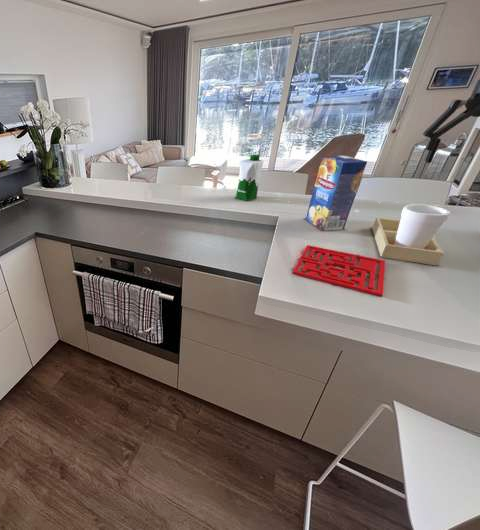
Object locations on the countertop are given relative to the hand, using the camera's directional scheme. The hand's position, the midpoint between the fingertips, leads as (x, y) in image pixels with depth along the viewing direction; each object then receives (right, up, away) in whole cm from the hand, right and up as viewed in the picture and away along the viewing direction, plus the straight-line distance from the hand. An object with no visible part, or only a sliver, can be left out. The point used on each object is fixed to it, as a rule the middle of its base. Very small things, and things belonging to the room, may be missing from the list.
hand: (459, 162), depth 84 cm
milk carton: (-36, +3, +60) cm, 70 cm away
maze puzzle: (-35, -31, 0) cm, 47 cm away
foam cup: (-11, -26, +5) cm, 28 cm away
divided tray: (-8, -24, +9) cm, 27 cm away
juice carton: (-20, -14, +27) cm, 37 cm away
